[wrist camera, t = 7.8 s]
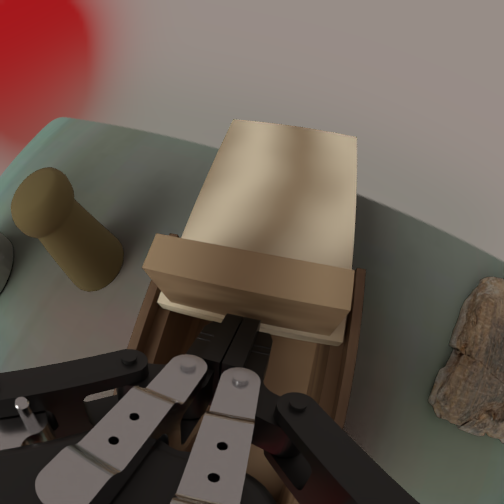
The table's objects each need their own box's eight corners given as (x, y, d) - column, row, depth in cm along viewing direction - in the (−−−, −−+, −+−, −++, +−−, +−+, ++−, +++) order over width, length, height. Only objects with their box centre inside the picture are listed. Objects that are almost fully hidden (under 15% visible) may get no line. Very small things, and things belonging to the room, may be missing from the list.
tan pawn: (126, 282, 24) (57, 205, 15) (70, 298, 24) (-8, 235, 14) (122, 226, 27) (69, 143, 18) (71, 243, 27) (9, 173, 17)
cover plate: (163, 308, 16) (125, 268, 11) (234, 129, 23) (228, 75, 18) (338, 346, 14) (368, 318, 10) (354, 146, 21) (367, 93, 17)
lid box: (143, 475, 17) (89, 498, 10) (197, 286, 24) (169, 233, 17) (290, 514, 15) (300, 562, 8) (335, 314, 22) (365, 269, 15)
